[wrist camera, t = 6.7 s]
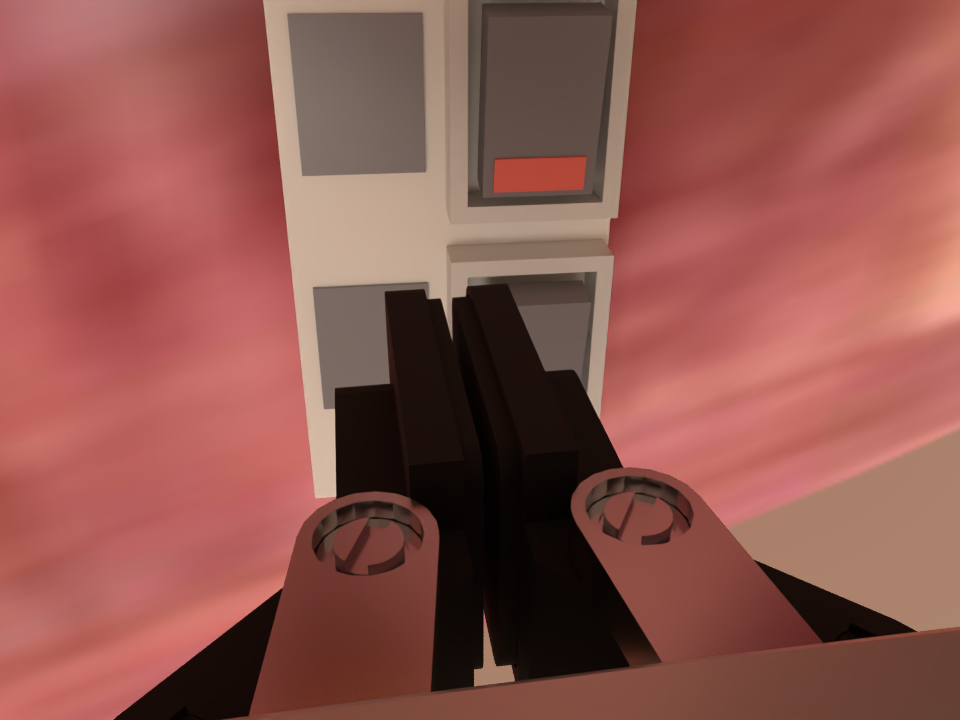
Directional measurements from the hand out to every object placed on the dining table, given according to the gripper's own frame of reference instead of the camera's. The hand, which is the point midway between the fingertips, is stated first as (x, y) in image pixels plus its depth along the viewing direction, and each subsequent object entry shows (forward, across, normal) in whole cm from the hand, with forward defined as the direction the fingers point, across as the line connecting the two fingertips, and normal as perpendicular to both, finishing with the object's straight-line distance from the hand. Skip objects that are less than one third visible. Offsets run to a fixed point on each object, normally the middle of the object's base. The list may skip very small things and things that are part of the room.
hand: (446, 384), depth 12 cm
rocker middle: (+13, -4, 0) cm, 14 cm away
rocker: (+13, -4, +8) cm, 16 cm away
